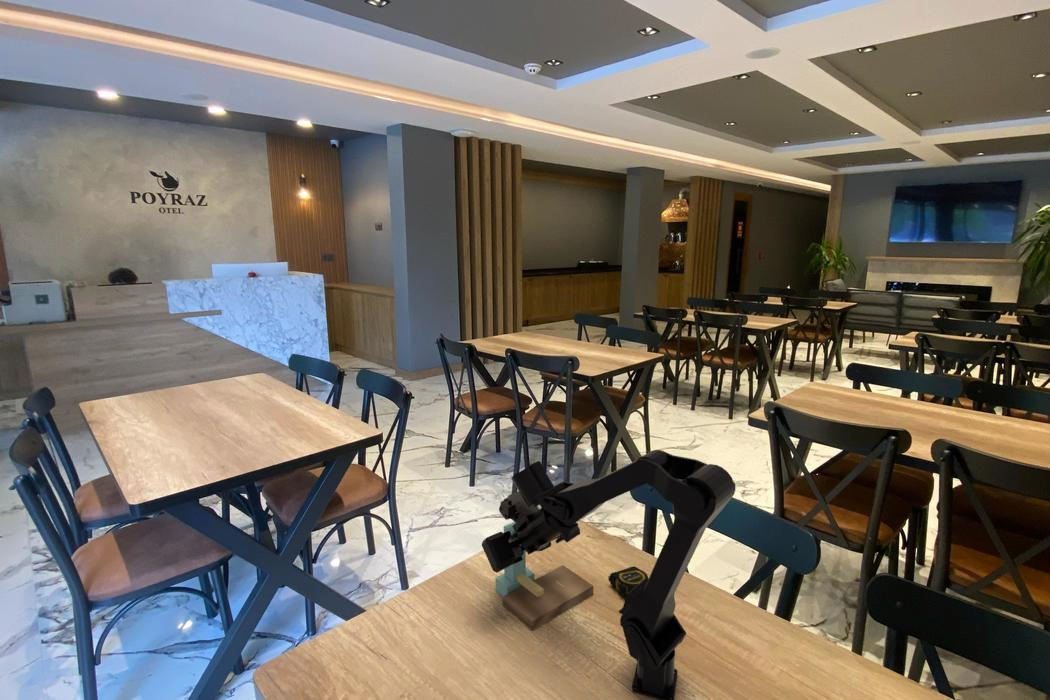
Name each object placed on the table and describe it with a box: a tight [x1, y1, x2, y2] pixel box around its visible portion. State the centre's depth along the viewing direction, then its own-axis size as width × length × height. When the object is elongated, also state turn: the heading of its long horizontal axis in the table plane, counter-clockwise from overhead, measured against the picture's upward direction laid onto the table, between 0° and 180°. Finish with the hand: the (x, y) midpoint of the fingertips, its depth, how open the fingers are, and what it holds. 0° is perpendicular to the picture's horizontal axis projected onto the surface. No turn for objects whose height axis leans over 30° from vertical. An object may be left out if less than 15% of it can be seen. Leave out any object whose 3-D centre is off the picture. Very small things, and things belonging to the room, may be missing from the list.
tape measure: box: [607, 566, 649, 598], centre depth 108 cm, size 7×7×4 cm
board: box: [502, 565, 595, 632], centre depth 106 cm, size 16×9×2 cm, turn 129°
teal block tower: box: [495, 521, 544, 598], centre depth 106 cm, size 7×10×14 cm
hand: (510, 552), depth 109 cm, fingers closed on teal block tower, 3 cm apart
